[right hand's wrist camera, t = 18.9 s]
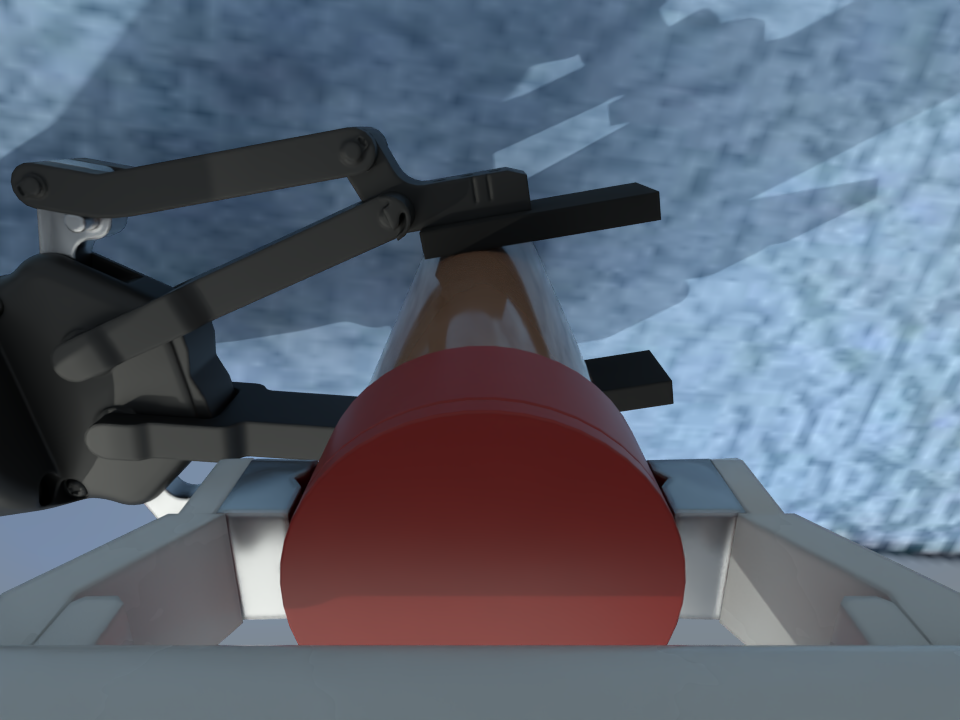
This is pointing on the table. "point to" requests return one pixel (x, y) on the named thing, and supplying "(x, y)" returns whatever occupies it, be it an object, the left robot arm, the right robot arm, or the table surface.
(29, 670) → the right robot arm
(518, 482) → the lid
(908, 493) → the table surface
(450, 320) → the brown bottle
